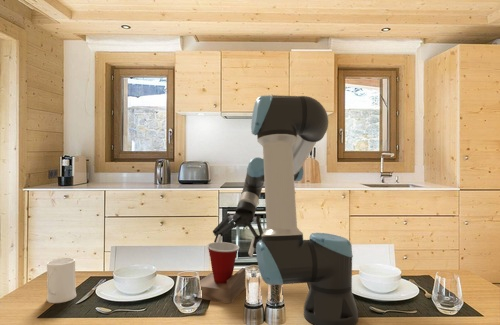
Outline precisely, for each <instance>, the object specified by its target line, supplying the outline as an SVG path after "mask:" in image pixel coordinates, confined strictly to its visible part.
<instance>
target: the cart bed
mask: <svg viewBox="0 0 500 325" xmlns="http://www.w3.org/2000/svg"><path fill="white" fill-rule="evenodd" d="M199 281H200V283H201V290H202V299H201V300H207V301H213V302H220V303H224V304H225V303H226V304H231V303H232V302H233V301H234V300H236V298H238V296H240V295H241V294H242V293H243V292H244V290H246V267H245V268H244V267H242V268H240V269H238V271H237V272H235V273H233V274H232V277H230V278H229V279H228V280H227V283H224V284H220V283H216V282H215V281H214V277H213V272H210V273H209V274H208V275H206V276H205V277H203V278H202V279H200V280H199Z"/></svg>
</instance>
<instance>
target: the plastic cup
mask: <svg viewBox="0 0 500 325" xmlns="http://www.w3.org/2000/svg"><path fill="white" fill-rule="evenodd" d="M206 247H207V249H208V253H209V260H210V265H211V273H213V277H214V281H215V282H216V283H220V284H224V283H227V280H228V279H229V278H230V277H232V275H234V270H235V269H234V268H235V264H236V257H237V255H238V251H239V250H240V246H239V245H237V244H236V243H231V242H225V241H222V242H210V243H208V244H207V246H206Z"/></svg>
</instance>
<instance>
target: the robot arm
mask: <svg viewBox="0 0 500 325" xmlns="http://www.w3.org/2000/svg"><path fill="white" fill-rule="evenodd" d="M251 115H252V116H251V123H250V130H251V134H252V135H254V136H256V137H257V138H256V139H257V142H258V144H260V146H262V155H263V158H261V157H254V158H251V159H250V161H249V162H248V165H247V168H246V175H245V178H244V179H245V180H244V184H243V187H242V191H241V194H240V197H239V198H238V199H239V200H238V203H237V205H236V209H235V213H234V214H233V215H232V214H231V213H229V212H228V213H226V214H225V217H224V219H222V220H221V222H220V223H219V224H217V226H216V227H215V228H214V229H213V230H212V233H213V235H214V237H215V238H214V242H223V236H225V235H226V234H227V233H229V232H230V231H231V230H233V229H235V228H236V227H238V228H247V227H248V229H249V231H250V232H251V234H252V235H253V237H252V239H251V241H250V246H249V248H248V252H247V253H248V256H249V258H253V257H254V256H253V255H254V252H255V254H256V261H257V266H258V270H259V274H260V276H261V279H262V280H263V282H264V283H265V284H267V285H268V286H269V285H272V286H273V285H274V286H275V285H278V286H279V285H280V286H283V285H291V284H292V285H293V284H307V283H309V290H308V293H307V297H306V298H305V302H304V305H303V316H304V319H305V320H306V321H307V322H309V323H311V324H312V325H356V324H358V321H359V310H358V307H357V304H356V300H355V296H354V294H353V287H352V286H353V278H352V277H353V257H354V256H353V249H352V248H353V247H352V243H351V241H350V240H349V239H347V238H346V237H344V236H341V235H337V234H334V233H333V234H332V233H325V232H312V233H311V234H310V235H309V237H308V238H309V239H304V233H303V232H302V231H301V230H300V229H299V228H298V222H297V207H296V206H297V205H296V190H295V182H301V181H302V179H303V176H304V167H303V165H304V164H305V162H306V160H307V158H308V157H309V155H310V153H311V152H312V150H313V149H314V147H315V145H316V144H317V143H318V142H320V141H321V140H322V139H323V138H324V137H325V135H326V133H327V131H328V128H329V116H328V113H327V111H326V109H325V107H324V106H323V104H322V103H321V102H320V101H319V100H317V99H316V98H313V97H311V96H308V95H307V96H306V95H278V94H277V95H275V94H274V95H273V94H271V95H269V94H268V95H260V96H258V97H257V98H256V100H255V102H254V105H253V110H252V114H251ZM263 187H264V198H265V200H264V201H265V220H266V229H265V230H264V231H263V228H262V225H261V223H262V219H261V215H259V214H258V215H255V214H256V211H257V206H258V203H259V200H260V197H261V194H262V190H263ZM253 222H255V223H256V226H257V229H258V233H259V234H258V233H257V232H256V230H255V228H254V226H253V225H252V223H253ZM214 242H213V243H214Z"/></svg>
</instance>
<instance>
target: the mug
mask: <svg viewBox="0 0 500 325" xmlns="http://www.w3.org/2000/svg"><path fill="white" fill-rule="evenodd" d="M46 274H47V275H46V279H47V280H46V289H47V290H46V291H47V296H46V297H47V298H46V302H47V303H49V304H61V303H66V302H70V301H72V300H74V299H76V297H77V292H76V291H77V289H76V288H77V287H76V259H75V258H73V257H60V258H54V259H52V260H49V261H47V263H46Z"/></svg>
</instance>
